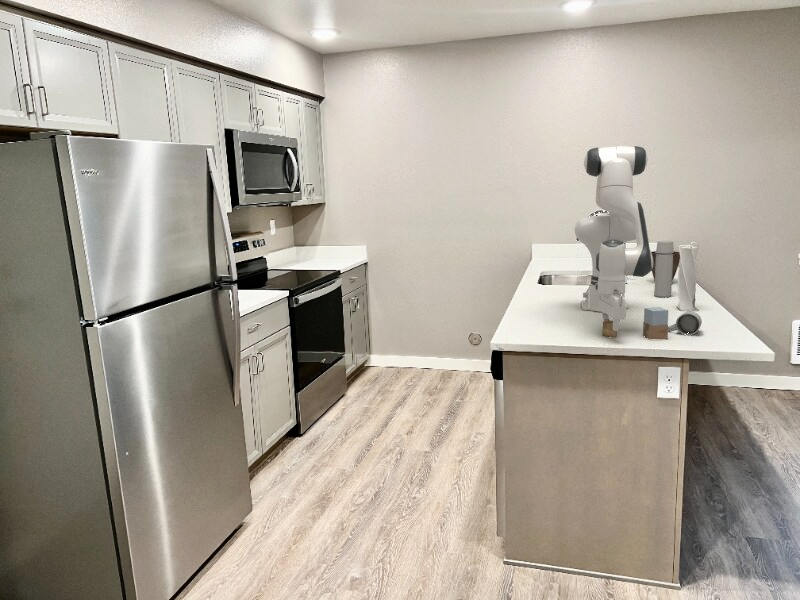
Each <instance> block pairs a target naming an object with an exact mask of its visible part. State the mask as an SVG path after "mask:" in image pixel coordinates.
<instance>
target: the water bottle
mask: <svg viewBox="0 0 800 600" xmlns="http://www.w3.org/2000/svg"><path fill="white" fill-rule="evenodd" d="M655 251H657V252H655V253H657V254H656V267H655V280H654V294H653V295H654V297H656V298H661V297H664V299H665V297H667V298H670V297H671V296H672V288H673V287H672V284H673V281H672V269H673V254H672V253H673V251H675V250H674V241H671V240H661V241H660V240H659V241H656V249H655Z"/></svg>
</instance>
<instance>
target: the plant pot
mask: <svg viewBox="0 0 800 600" xmlns="http://www.w3.org/2000/svg"><path fill="white" fill-rule="evenodd" d="M655 252H657V251H656V250H655V251H651V254H652V257H653V268H652V271H651V273H652V278H653V280H654V281H655V267H656V254H657V253H655ZM672 254H673V269H672V282H674V279H675V277H676V274H677V270H678V269H679V266H680V262H681V259H680V252H679V251H675V250H674V251H673V253H672Z"/></svg>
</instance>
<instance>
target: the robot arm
mask: <svg viewBox="0 0 800 600" xmlns="http://www.w3.org/2000/svg"><path fill="white" fill-rule="evenodd" d="M583 165H584V169H585V172H586V173H587V174H588V176H591V177H595V178H596V179H597V180H596V189H595V190H596V191H595V204H596V205H597V206H598V207H599V208H600V209H602V210H604V211H607V212H608V214H607V215H590V216H585V217H582V218H579V219H578V220H577V222H576V224H575V226H574V235H575V237H576V238H577V240H579V242H581V243H582V244H583V245H584V246H585V247H586V248H587V249H588V251H589V253H590V256H591V257H590V258H591V262H592V263H591V266H592V269H591V270H592V272H591V273H592V275H591V276H590V277H591V278H590V285H589V286H588V288H587V289H586V291H585V292H583V293H582V298H583V299H585V300H580V306H581V309H582V310H584V311H593V312H601V316H602V320H603V321H607V320H610V318H612V321H613V325H612V330H614V331H617V332H618V331H619V325H620V324H621V321H622V320H625V319H626V317H627V309H629V305H627V304H626V298H625V297H626V295H625V294H626V276H629V277H630V276H633V277H638V278H639V277H640V278H643V277H645V276H647V275H648V274H649V273H652V268H653V257H652V254H651V252H652V251H651V248H650V243H649V235H648V229H647V222H646V217H645V214H644V213H645V212H644V208H643V205H642V204H641V202H640V201H637V199H636V198H635V196H634V187H633V186H634V183H633V182H634V181H633V176H638V175H641V174H642V173H644V172H645V169H646V168H647V165H648V154H647V150H646V149H645V148H644V147H643V146H642V147H641V146H638V145H637V146H636V145H635V146H629V145H616V146H606V147H593V148H590V149H589V150H587V151H586V155H585V157H584V161H583ZM609 213H610V214H609ZM631 241H635V242H636V247H627V248H626V245H625V243H626V242H631ZM603 321H602V322H603Z"/></svg>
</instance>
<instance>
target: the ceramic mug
mask: <svg viewBox="0 0 800 600" xmlns="http://www.w3.org/2000/svg"><path fill="white" fill-rule="evenodd" d="M702 323H703V322H702V318H701V316H700V315H699V313H697V312H696V311H684V312H683V313H681V315H678V317H677V318H676V320H675V323H674V324H670V325H668V332H669V331H670V332H674V331H678V332H679V333H680V334H682V335H684V334H686V335H685V336H692V335H695V334H697V333H698V332H699V330H700V328H701V326H702ZM688 332H689V333H688ZM687 333H688V334H687Z"/></svg>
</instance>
